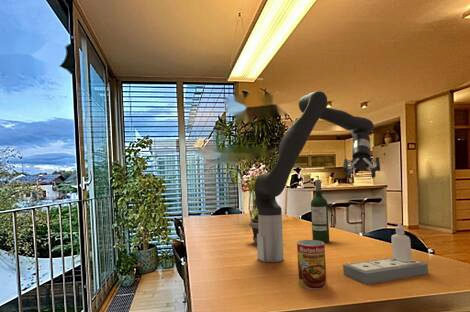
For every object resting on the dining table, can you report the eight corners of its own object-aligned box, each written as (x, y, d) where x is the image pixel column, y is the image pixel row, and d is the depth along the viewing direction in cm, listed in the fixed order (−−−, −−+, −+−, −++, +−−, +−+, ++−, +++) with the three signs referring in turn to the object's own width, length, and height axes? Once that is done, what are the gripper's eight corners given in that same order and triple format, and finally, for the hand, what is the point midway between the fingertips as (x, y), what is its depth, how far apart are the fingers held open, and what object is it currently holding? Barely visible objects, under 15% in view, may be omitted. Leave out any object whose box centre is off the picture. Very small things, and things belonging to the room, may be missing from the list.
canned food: (302, 289, 84) (301, 245, 85) (295, 280, 92) (294, 240, 93) (330, 288, 84) (328, 244, 85) (321, 279, 92) (319, 239, 93)
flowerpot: (249, 240, 154) (248, 201, 156) (280, 240, 153) (278, 200, 155) (249, 246, 140) (248, 203, 141) (282, 246, 139) (281, 202, 140)
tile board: (366, 284, 87) (365, 272, 87) (343, 274, 96) (343, 263, 97) (428, 273, 95) (427, 263, 95) (401, 265, 104) (401, 255, 104)
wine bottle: (313, 243, 144) (310, 180, 146) (312, 239, 152) (309, 179, 154) (330, 243, 143) (327, 179, 145) (328, 239, 150) (325, 179, 153)
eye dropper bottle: (404, 258, 101) (402, 221, 102) (413, 262, 96) (410, 224, 96) (391, 258, 101) (388, 222, 102) (399, 262, 96) (396, 224, 97)
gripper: (343, 146, 135) (341, 171, 124) (378, 143, 128) (380, 170, 117) (345, 158, 139) (343, 184, 128) (379, 156, 133) (381, 183, 122)
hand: (361, 177), depth 123 cm, fingers open, 8 cm apart
